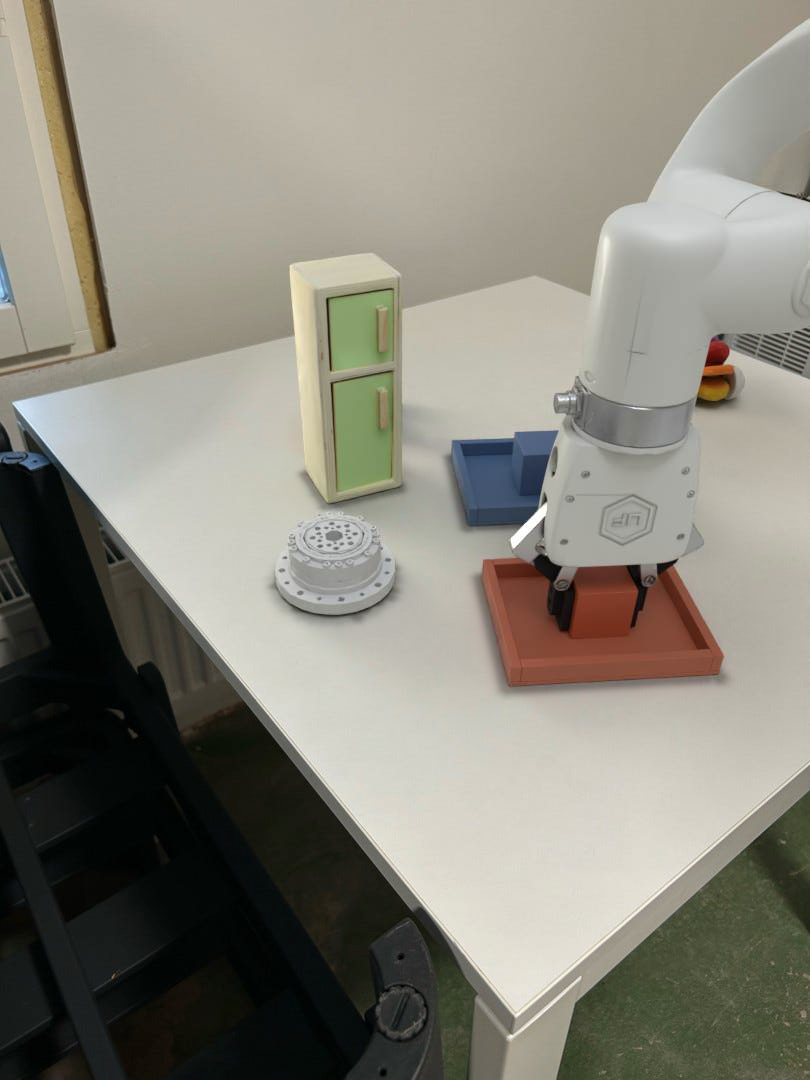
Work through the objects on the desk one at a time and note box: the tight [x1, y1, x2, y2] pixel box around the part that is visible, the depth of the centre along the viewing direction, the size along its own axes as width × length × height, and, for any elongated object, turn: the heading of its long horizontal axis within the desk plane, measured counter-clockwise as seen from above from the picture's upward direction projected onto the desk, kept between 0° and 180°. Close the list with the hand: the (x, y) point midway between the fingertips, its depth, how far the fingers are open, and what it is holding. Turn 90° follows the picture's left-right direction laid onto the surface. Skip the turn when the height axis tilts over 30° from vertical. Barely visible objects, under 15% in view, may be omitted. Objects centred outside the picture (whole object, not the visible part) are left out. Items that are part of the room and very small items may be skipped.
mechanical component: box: [274, 511, 397, 616], centre depth 68 cm, size 10×4×10 cm
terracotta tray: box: [480, 557, 725, 687], centre depth 64 cm, size 16×13×2 cm
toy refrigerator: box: [288, 252, 403, 504], centre depth 75 cm, size 8×7×21 cm
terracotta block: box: [568, 565, 638, 639], centre depth 63 cm, size 4×4×4 cm
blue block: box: [511, 429, 559, 496], centre depth 79 cm, size 4×4×4 cm
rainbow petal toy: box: [697, 335, 746, 402], centre depth 96 cm, size 8×10×7 cm
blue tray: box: [450, 437, 541, 527], centre depth 80 cm, size 16×13×2 cm
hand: (592, 615), depth 65 cm, fingers closed on terracotta block, 4 cm apart
